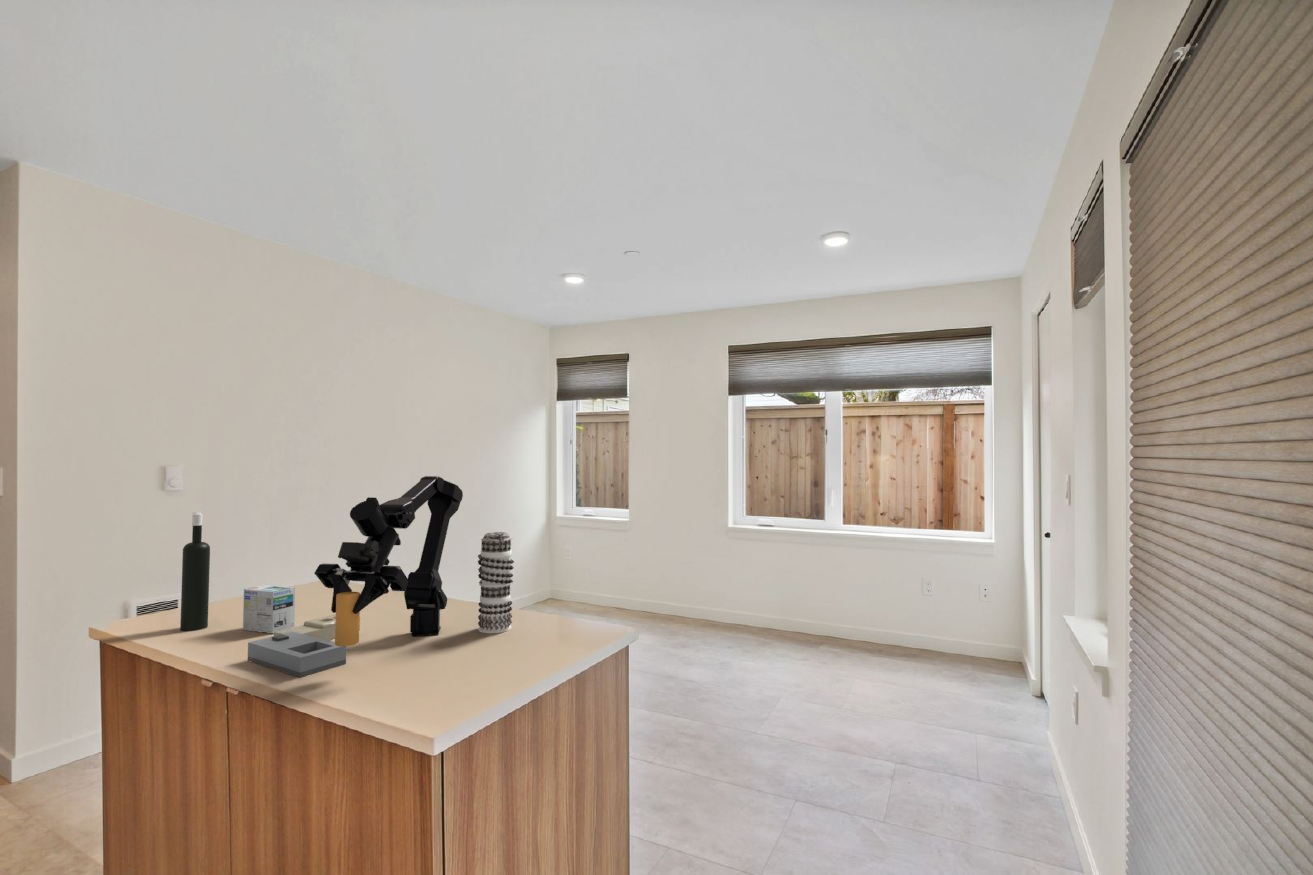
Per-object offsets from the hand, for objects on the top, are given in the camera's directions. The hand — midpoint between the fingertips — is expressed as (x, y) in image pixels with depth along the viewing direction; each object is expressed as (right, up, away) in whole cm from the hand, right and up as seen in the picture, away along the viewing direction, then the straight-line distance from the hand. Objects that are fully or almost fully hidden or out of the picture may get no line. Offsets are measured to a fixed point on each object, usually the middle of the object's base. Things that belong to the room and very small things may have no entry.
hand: (343, 612), depth 128 cm
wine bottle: (-57, -14, +36) cm, 68 cm away
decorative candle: (+21, -15, +37) cm, 45 cm away
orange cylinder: (0, -7, +1) cm, 7 cm away
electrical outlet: (-20, -14, +27) cm, 36 cm away
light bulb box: (-37, -14, +35) cm, 53 cm away
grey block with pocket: (-15, -13, +9) cm, 22 cm away
